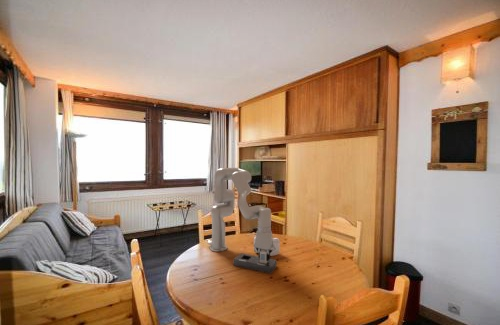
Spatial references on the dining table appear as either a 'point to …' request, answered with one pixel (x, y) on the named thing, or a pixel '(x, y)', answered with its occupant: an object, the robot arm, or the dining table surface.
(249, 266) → the jack panel
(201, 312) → the dining table surface
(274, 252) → the cable organizer
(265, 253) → the plug
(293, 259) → the dining table surface
